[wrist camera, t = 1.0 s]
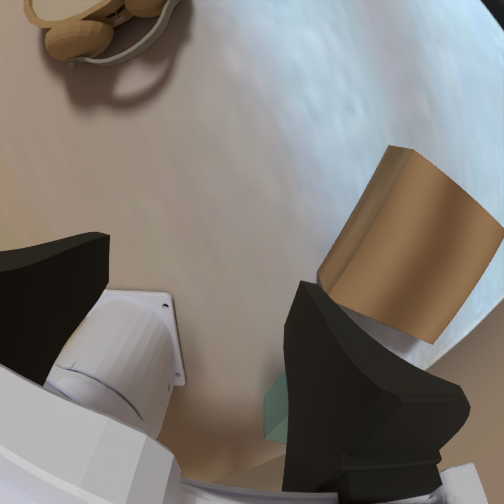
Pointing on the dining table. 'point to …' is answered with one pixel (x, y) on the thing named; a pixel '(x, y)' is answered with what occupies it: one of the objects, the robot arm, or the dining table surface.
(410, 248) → the walnut box
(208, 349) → the dining table surface
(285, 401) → the teal block
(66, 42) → the alarm clock
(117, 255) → the dining table surface
